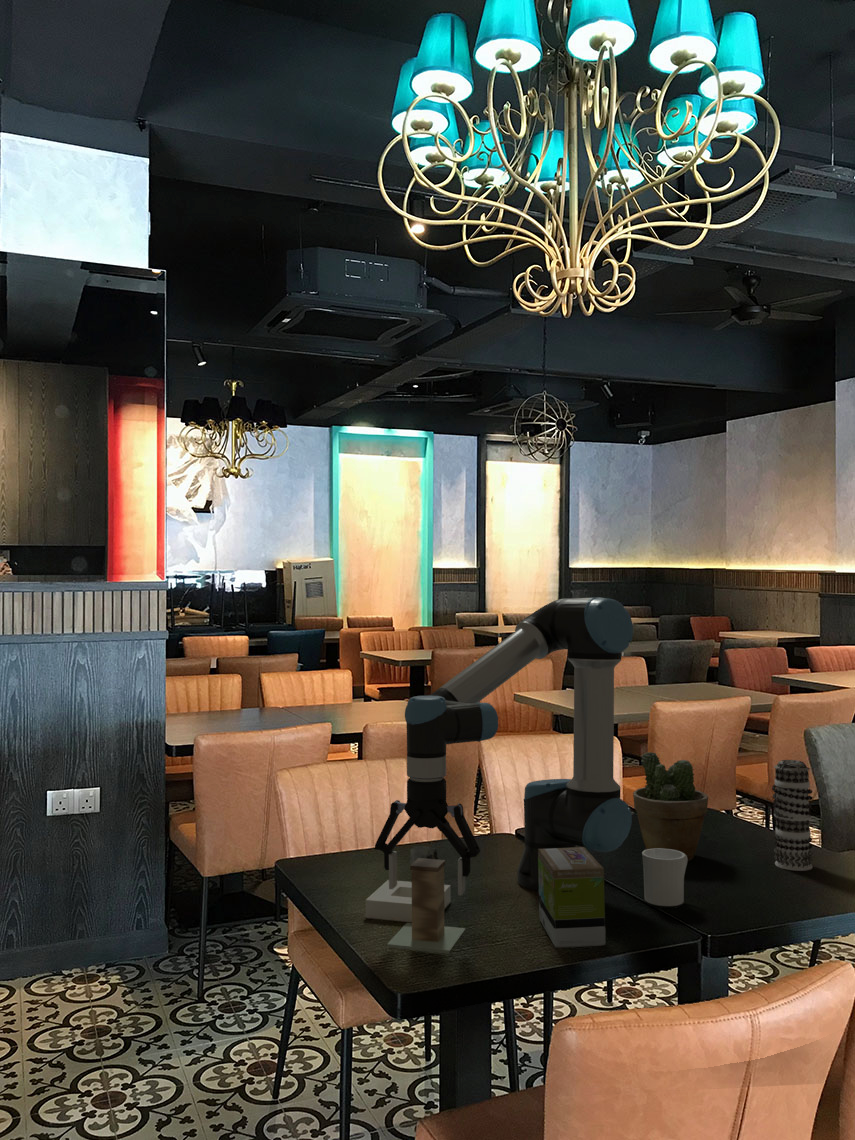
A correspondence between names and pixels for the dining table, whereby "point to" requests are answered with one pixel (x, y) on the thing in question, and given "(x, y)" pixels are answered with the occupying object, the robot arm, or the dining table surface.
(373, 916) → the white square platform
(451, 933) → the mat
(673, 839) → the potted plant
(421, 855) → the stone
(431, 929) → the brown tall block
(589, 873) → the tea box
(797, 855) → the decorative candle
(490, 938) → the dining table surface
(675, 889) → the mug
